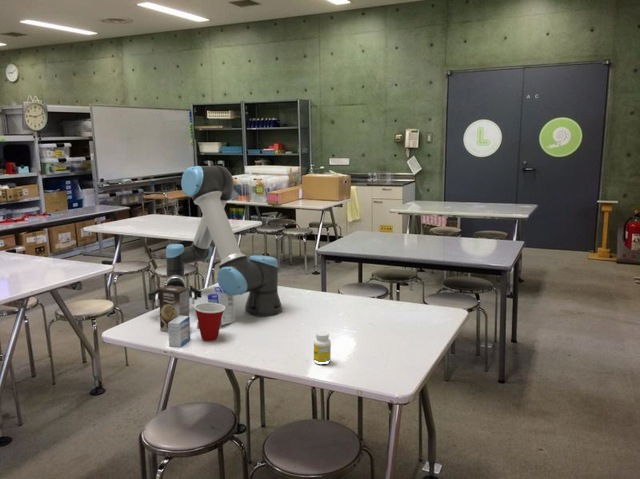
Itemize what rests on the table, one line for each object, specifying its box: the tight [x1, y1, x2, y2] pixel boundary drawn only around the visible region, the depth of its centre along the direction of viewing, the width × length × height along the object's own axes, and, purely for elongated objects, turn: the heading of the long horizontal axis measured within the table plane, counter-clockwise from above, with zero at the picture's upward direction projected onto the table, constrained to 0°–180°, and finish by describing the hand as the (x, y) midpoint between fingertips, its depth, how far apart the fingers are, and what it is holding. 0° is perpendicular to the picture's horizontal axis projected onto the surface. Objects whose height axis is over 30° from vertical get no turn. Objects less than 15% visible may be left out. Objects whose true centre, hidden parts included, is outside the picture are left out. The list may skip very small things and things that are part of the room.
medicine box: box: [167, 315, 191, 348], centre depth 183 cm, size 8×4×9 cm, turn 168°
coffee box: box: [158, 285, 190, 333], centre depth 194 cm, size 9×6×16 cm
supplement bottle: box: [313, 330, 332, 362], centre depth 169 cm, size 5×5×10 cm
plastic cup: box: [193, 302, 225, 342], centre depth 187 cm, size 11×11×12 cm
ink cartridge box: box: [207, 286, 236, 327], centre depth 203 cm, size 10×6×14 cm, turn 156°
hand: (175, 301), depth 201 cm, fingers open, 13 cm apart
